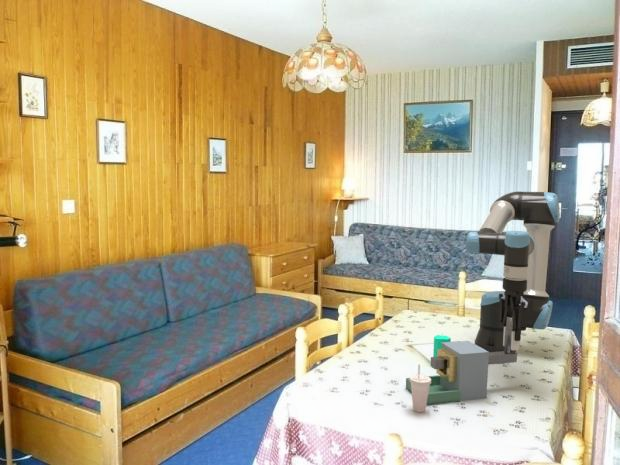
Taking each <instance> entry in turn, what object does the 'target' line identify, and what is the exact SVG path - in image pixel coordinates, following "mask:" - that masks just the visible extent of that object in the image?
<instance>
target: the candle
mask: <svg viewBox="0 0 620 465" xmlns="http://www.w3.org/2000/svg"><path fill="white" fill-rule="evenodd" d="M443 334H444V333H443V332H442V334H441V335H440V334H437V335H434V336H433V352H432V354H433V355H432V357H437V350H438V349H441V345H442V343H443V342H452V341H451V340H452V339H451V337H449V336H448V335H443Z"/></svg>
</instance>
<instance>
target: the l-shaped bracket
mask: <svg viewBox="0 0 620 465" xmlns="http://www.w3.org/2000/svg"><path fill="white" fill-rule="evenodd" d="M512 329H514V325H513V316H507V321H506V339H505V351H500V352H489V361H488V366H489V365H501V364H511V363H512V364H513V363H517V361H518V353H517V350H511V337H512ZM429 366H430V367H431V368H432V369H433V370H437V369H446V368H447V360H446V359H445V358H443V357H441V356H439V357H433V356H430V365H429Z"/></svg>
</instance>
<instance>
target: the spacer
mask: <svg viewBox="0 0 620 465" xmlns="http://www.w3.org/2000/svg"><path fill="white" fill-rule="evenodd" d="M439 356H441V357H443V358H445V359H446V360H447V370H446V369H436V372H435V373H436V374H437V375H439V376H441V377H443V378H444V379H445V380H447V381H448V382H454V381H456V369H457V356H455V355H453V354H452V353H450V352H449V351H447V350H445V349H438V350H437V357H439Z"/></svg>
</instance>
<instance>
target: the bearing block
mask: <svg viewBox="0 0 620 465" xmlns="http://www.w3.org/2000/svg"><path fill="white" fill-rule="evenodd" d="M441 349H445V350H447V351H449V352H450V353H452V354H453V355H455V356H457V369H456V381H454V382H448V381H447V380H445V379H444V378H443V377H441V376H440V375H439V376H440V385H441V386H443V387H444V388H445V389H446V390H448V391H453V390H460V401H468V400H477V399H486V398H487V395H488V376H489V365H488V361H489V352H488V351H486V350H485V349H483V348H481V347H479V346H477V345H475V342H471V341H470V340H460V341H459V340H458V341H451V342H443V343H442V345H441ZM446 370H447V368H446Z"/></svg>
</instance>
